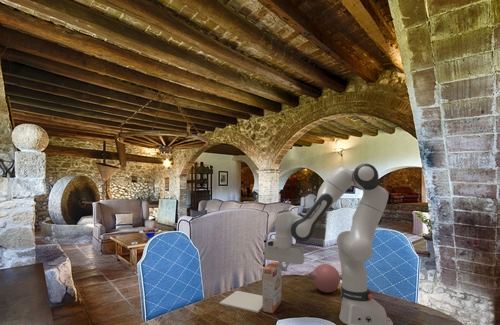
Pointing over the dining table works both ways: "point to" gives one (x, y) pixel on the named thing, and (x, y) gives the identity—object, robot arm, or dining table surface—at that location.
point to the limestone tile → (244, 301)
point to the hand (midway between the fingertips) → (284, 270)
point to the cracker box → (271, 287)
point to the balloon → (325, 278)
